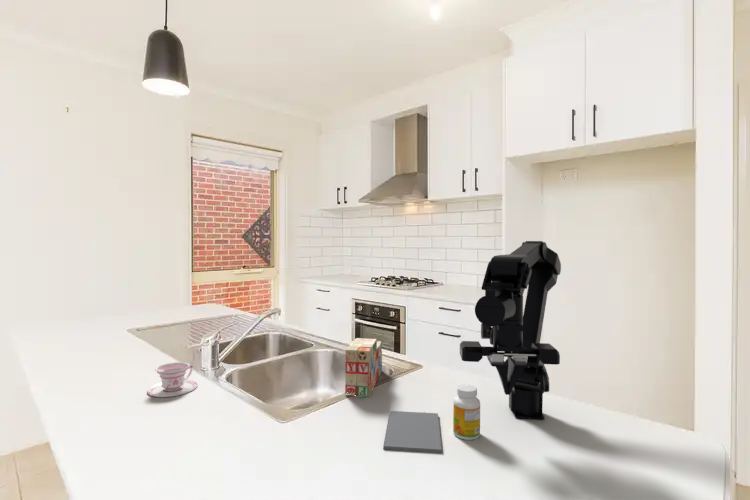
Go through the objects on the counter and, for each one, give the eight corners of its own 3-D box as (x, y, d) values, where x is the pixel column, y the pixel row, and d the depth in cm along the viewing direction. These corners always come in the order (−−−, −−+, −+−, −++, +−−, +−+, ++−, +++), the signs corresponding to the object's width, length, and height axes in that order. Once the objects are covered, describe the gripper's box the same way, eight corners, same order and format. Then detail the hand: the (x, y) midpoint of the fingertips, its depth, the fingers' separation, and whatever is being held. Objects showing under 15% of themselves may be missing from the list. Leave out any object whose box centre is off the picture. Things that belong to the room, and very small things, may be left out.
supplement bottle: (450, 428, 86) (450, 383, 86) (474, 427, 86) (475, 382, 86) (457, 441, 80) (457, 392, 80) (483, 440, 81) (484, 392, 81)
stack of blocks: (362, 370, 124) (362, 330, 124) (382, 371, 123) (382, 331, 123) (344, 396, 103) (345, 348, 103) (368, 398, 102) (369, 350, 102)
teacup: (153, 402, 99) (153, 377, 99) (142, 388, 108) (142, 365, 108) (204, 390, 107) (203, 367, 107) (189, 378, 116) (189, 357, 116)
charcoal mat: (437, 415, 92) (437, 413, 92) (441, 452, 76) (441, 449, 76) (389, 413, 93) (389, 410, 93) (383, 449, 77) (383, 445, 77)
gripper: (543, 311, 89) (542, 381, 89) (457, 309, 91) (457, 378, 91) (561, 322, 78) (560, 402, 78) (462, 319, 80) (462, 397, 80)
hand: (507, 394), depth 82 cm, fingers closed
